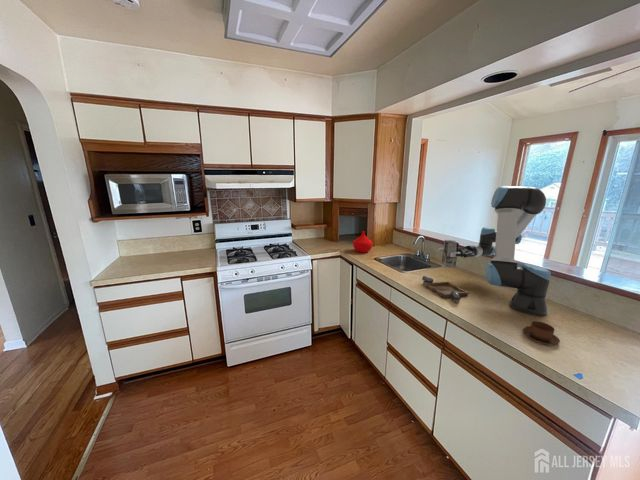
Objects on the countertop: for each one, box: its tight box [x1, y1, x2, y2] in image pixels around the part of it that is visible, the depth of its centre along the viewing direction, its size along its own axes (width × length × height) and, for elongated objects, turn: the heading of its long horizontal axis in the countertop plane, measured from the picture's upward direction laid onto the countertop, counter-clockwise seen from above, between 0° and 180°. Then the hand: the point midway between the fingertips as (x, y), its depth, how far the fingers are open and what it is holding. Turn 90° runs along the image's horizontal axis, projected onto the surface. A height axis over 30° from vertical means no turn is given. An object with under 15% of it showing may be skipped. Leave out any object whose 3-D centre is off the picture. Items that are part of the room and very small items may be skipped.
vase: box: [352, 230, 374, 254], centre depth 234 cm, size 18×18×19 cm
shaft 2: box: [450, 291, 462, 304], centre depth 138 cm, size 6×3×5 cm, turn 174°
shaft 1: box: [421, 275, 434, 286], centre depth 160 cm, size 6×3×5 cm, turn 35°
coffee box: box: [441, 239, 460, 269], centre depth 163 cm, size 9×6×16 cm
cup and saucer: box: [522, 320, 561, 346], centre depth 106 cm, size 12×12×6 cm
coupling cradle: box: [425, 281, 469, 300], centre depth 151 cm, size 16×16×2 cm
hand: (444, 252), depth 162 cm, fingers closed on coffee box, 10 cm apart
